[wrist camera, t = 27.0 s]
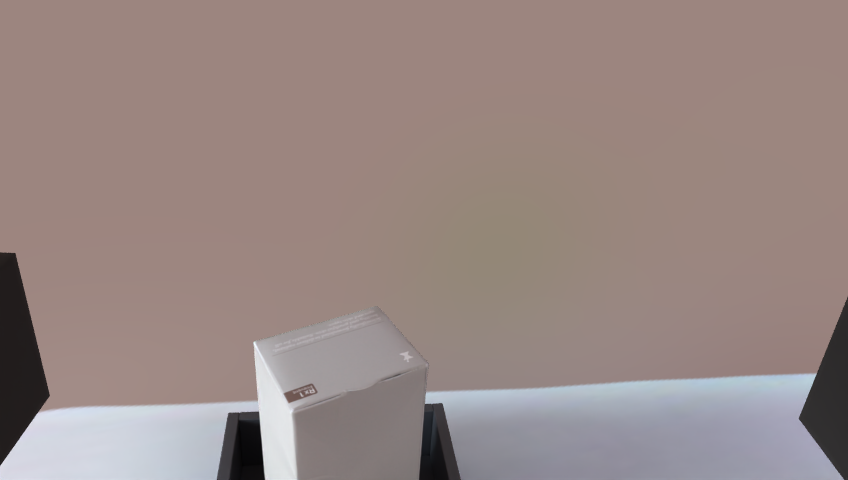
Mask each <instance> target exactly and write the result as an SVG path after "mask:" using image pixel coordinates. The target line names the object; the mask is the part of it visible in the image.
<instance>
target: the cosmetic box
mask: <svg viewBox="0 0 848 480" xmlns="http://www.w3.org/2000/svg"><path fill="white" fill-rule="evenodd" d="M254 354H255V367H256V380H257V392H258V404H259V415H260V427H261V438H262V449H263V461H264V472H265V480H419V471H420V458H421V445H422V432H423V419H424V407H425V394H426V384H427V375H428V369H429V363H428V362H427V361H426V360H425V359H424V358H423V357H422V355H421V354H420V353H419V352H418V351H417V350H416V349H415V348H414V347H413V345H412V344H411V343H410V342H409V341H408V340H407V339H406V338H405V337H404V335H403V334H402V333H401V332H400V331H399V330H398V329H397V328H396V326H395V325H394V324H393V323H392V322H391V321H390V319H389V318H388V317H387V316H386V315H385V314H384V312H382V310H381V309H380V308H379V307H378V306H375V307H371V308H368V309H365V310H362V311H358V312H355V313H351V314H348V315H345V316H341V317H338V318H335V319H331V320H328V321H324V322H321V323H317V324H314V325H311V326H307V327H303V328H300V329H297V330H293V331H290V332H286V333H283V334H279V335H276V336H272V337H268V338H265V339H261V340H257V341H254Z"/></svg>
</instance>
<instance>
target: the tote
mask: <svg viewBox="0 0 848 480" xmlns="http://www.w3.org/2000/svg"><path fill="white" fill-rule="evenodd" d="M217 480H265V472H264V461H263V449H262V438H261V427H260V415H259V412H241V413H228V418H227V423H226V429H225V435H224V441H223V447H222V452H221V458H220V464H219V470H218V476H217ZM419 480H461V479H460V475H459V471H458V467H457V462H456V458H455V454H454V450H453V446H452V441H451V437H450V433H449V429H448V425H447V420H446V416H445V412H444V408H443V404H442V403H439V404H425V407H424V419H423V432H422V445H421V458H420V471H419Z"/></svg>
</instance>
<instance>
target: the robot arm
mask: <svg viewBox="0 0 848 480" xmlns="http://www.w3.org/2000/svg"><path fill="white" fill-rule="evenodd" d="M49 396H50V395H49V390H48V386H47V382H46V378H45V374H44V370H43V366H42V362H41V358H40V353H39V349H38V345H37V341H36V337H35V333H34V329H33V325H32V320H31V316H30V312H29V308H28V304H27V300H26V296H25V291H24V287H23V283H22V279H21V275H20V271H19V267H18V262H17V258H16V254H15V253H0V465H1V464H2V463H3V461H4V460H5V458H6V457H7V455H8V454H9V453H10V451H11V450H12V448H13V447H14V446H15V444H16V443H17V441H18V440H19V438H20V437H21V436H22V434H23V433H24V431H25V430H26V429H27V427H28V426H29V424H30V423H31V422H32V420H33V419H34V417H35V416H36V414H37V413H38V412H39V410H40V409H41V407H42V406H43V405H44V403H45V402H46V400H47V399H48V398H49ZM799 420H800V421H801V422H802V424H803V425H804V426H805V428H806V429H807V430H808V432H809V433H810V434H811V436H812V437H813V438H814V440H815V441H816V442H817V444H818V445H819V446H820V448H821V449H822V450H823V452H824V453H825V454H826V456H827V457H828V458H829V460H830V461H831V462H832V464H833V465H834V467H835V468H836V469H837V471H838V472H839V473H840V475H841V476H842V477H843V479H844V480H848V298H847V300H846V302H845V305H844V307H843V310H842V312H841V315H840V317H839V320H838V322H837V325H836V328H835V330H834V333H833V335H832V338H831V340H830V342H829V345H828V348H827V350H826V352H825V355H824V357H823V360H822V362H821V365H820V367H819V370H818V372H817V375H816V377H815V380H814V382H813V385H812V387H811V390H810V392H809V394H808V397H807V399H806V402H805V404H804V407H803V409H802V412H801V414H800V417H799Z"/></svg>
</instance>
